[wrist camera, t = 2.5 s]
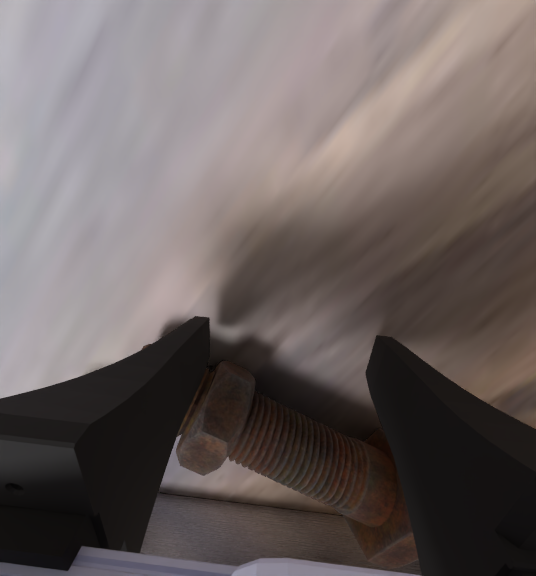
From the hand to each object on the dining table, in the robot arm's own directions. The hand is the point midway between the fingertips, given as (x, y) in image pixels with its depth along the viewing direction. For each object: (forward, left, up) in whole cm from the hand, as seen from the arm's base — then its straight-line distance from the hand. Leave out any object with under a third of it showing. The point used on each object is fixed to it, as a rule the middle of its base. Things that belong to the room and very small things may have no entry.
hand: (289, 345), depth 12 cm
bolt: (-5, 0, -2) cm, 5 cm away
